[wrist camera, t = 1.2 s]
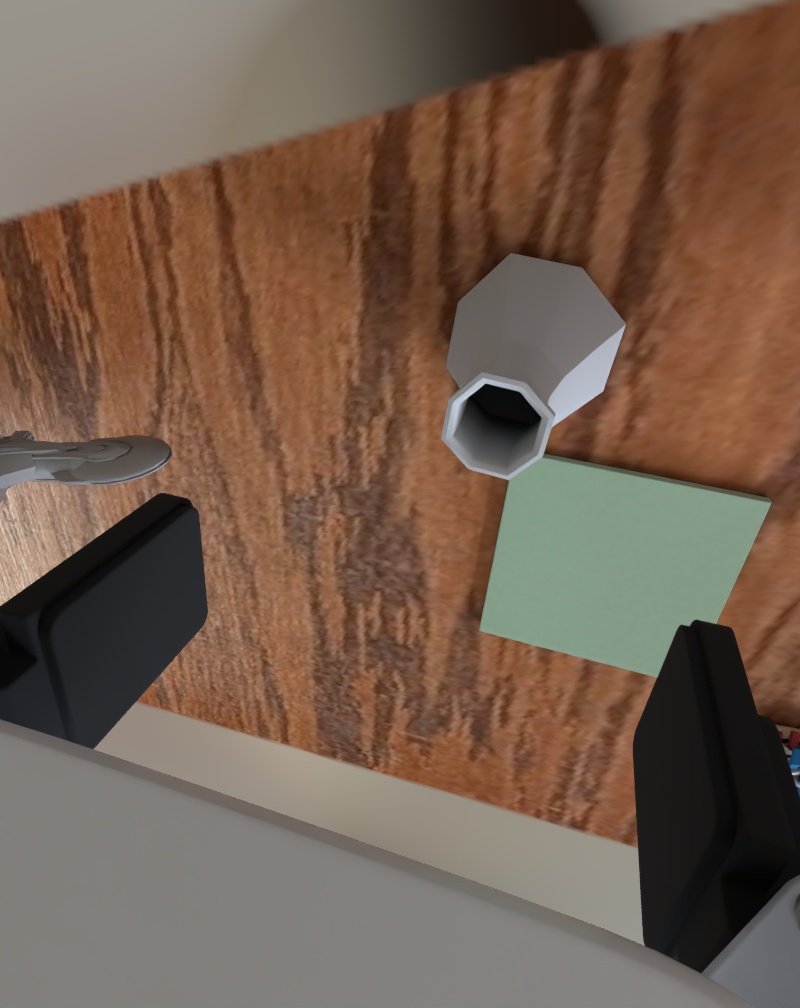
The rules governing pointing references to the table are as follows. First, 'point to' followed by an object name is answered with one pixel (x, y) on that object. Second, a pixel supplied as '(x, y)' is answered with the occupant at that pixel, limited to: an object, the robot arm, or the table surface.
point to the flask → (525, 360)
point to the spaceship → (79, 460)
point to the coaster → (614, 560)
